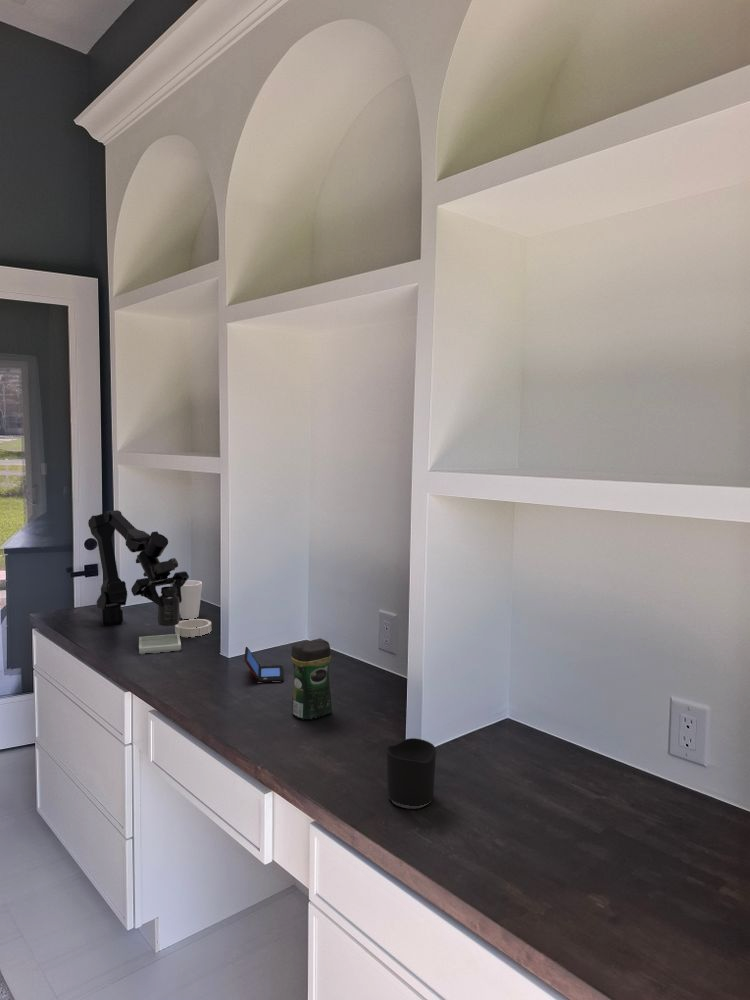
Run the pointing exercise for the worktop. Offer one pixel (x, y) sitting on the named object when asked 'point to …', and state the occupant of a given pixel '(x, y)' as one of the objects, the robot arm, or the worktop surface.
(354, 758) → the worktop surface
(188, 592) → the foam cup
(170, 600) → the supplement bottle
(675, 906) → the worktop surface
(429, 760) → the pen holder
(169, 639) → the sage tray
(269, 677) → the handheld game console
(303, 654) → the coffee jar
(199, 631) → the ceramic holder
